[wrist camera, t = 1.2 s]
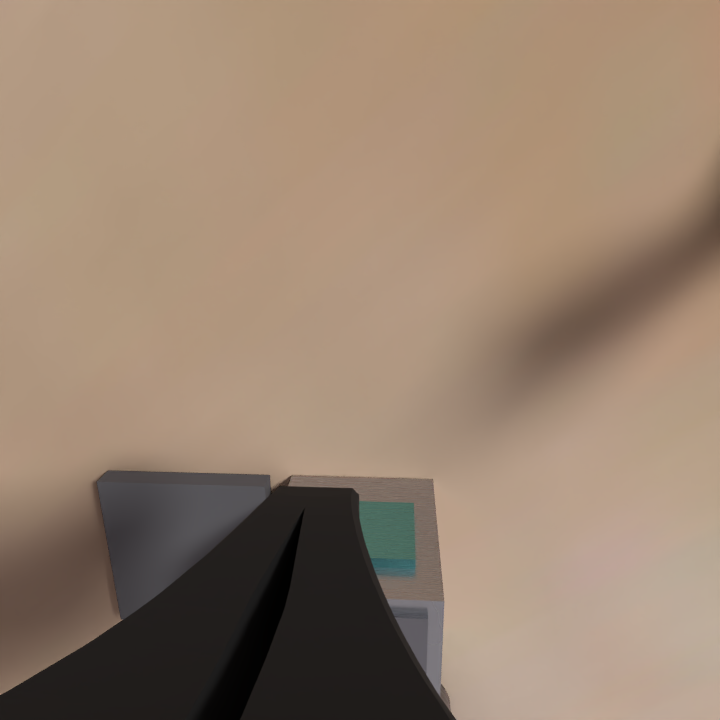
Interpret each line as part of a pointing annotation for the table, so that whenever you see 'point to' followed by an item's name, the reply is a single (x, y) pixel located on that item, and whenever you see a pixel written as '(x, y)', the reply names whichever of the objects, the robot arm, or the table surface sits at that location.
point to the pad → (169, 524)
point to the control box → (402, 556)
